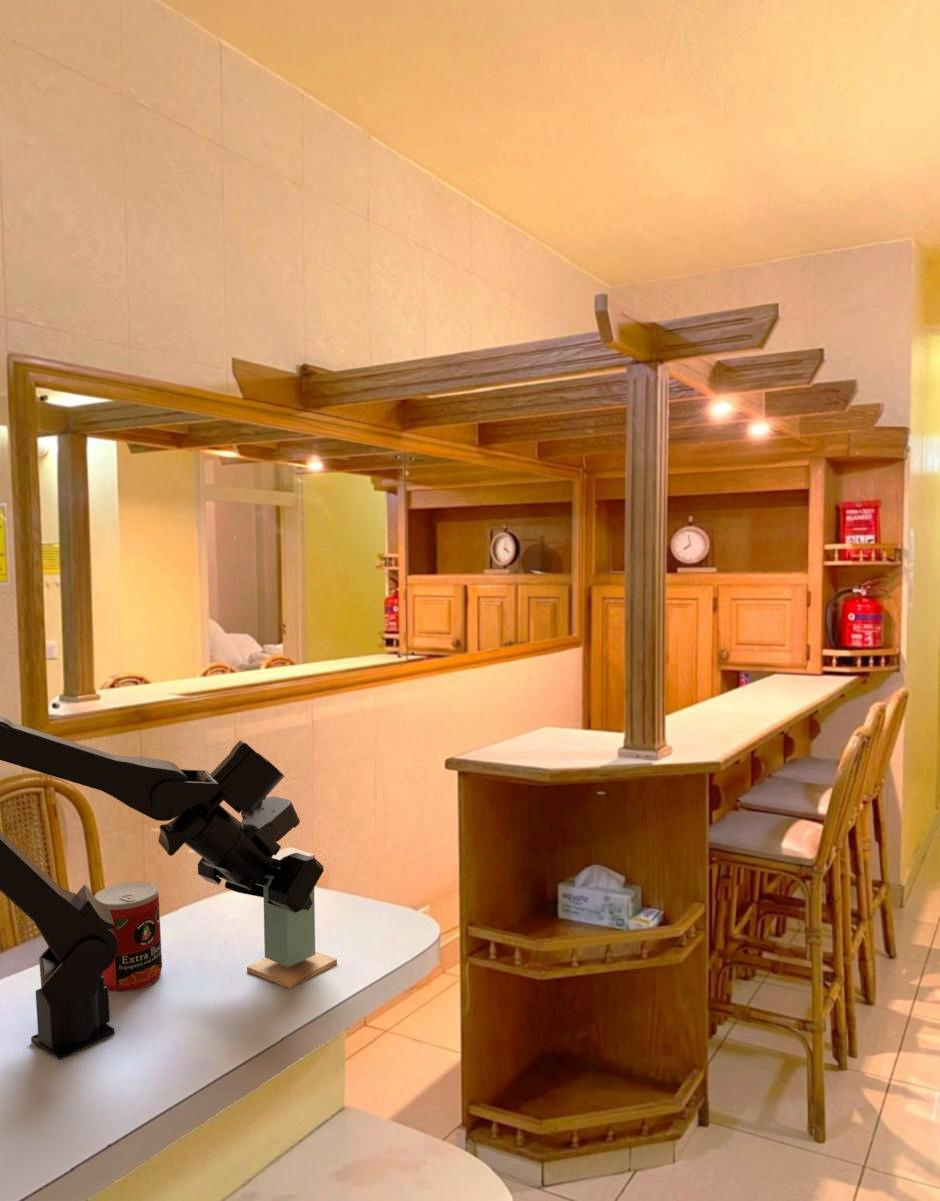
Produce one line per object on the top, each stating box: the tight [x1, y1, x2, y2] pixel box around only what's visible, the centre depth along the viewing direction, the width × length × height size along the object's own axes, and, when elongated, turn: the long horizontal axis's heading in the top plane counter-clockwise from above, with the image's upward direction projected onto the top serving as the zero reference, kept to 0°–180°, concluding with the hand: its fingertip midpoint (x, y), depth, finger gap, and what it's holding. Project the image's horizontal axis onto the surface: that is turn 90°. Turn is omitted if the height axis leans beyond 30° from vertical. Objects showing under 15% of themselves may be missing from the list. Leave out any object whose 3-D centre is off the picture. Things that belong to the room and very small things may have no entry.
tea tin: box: [263, 846, 316, 968], centre depth 117 cm, size 5×5×13 cm
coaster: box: [246, 951, 338, 989], centre depth 117 cm, size 8×8×1 cm
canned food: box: [93, 881, 163, 992], centre depth 115 cm, size 8×8×11 cm
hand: (297, 901), depth 118 cm, fingers closed on tea tin, 5 cm apart
